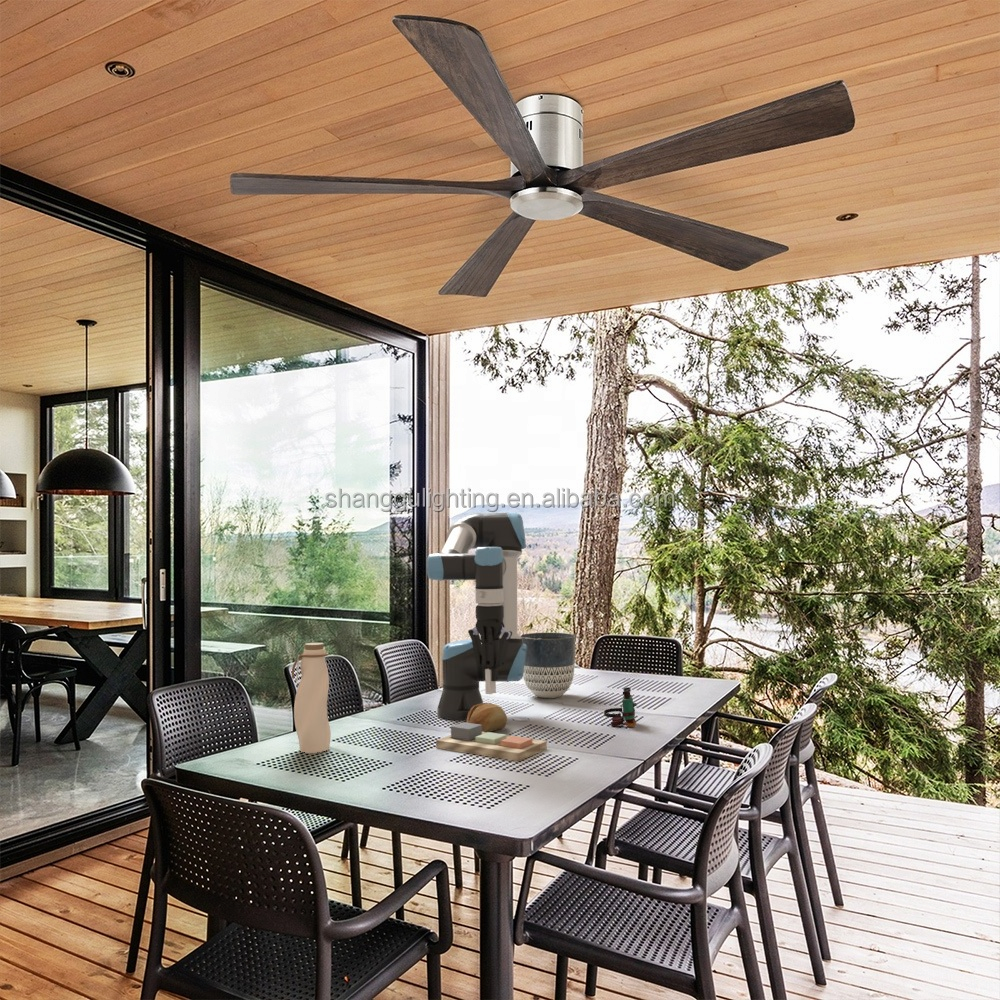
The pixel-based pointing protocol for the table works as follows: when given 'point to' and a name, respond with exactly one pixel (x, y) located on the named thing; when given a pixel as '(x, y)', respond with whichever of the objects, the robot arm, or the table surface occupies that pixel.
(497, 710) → the bread roll
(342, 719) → the table surface
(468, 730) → the charcoal tile
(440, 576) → the robot arm
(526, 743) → the terracotta tile
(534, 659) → the planter
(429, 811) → the table surface
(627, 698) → the binoculars
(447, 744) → the board
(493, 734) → the sage tile
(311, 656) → the water bottle
